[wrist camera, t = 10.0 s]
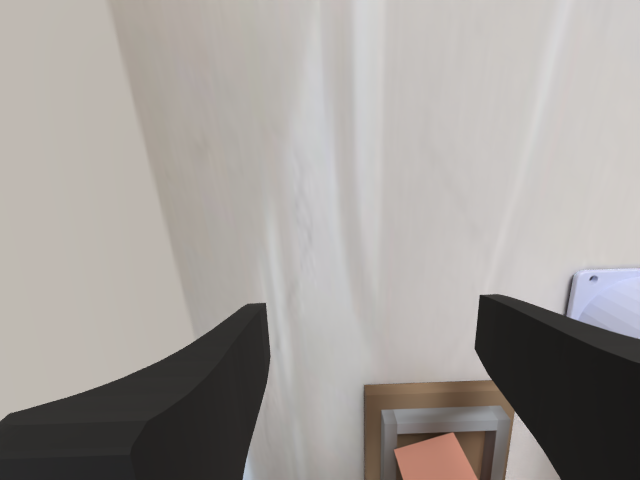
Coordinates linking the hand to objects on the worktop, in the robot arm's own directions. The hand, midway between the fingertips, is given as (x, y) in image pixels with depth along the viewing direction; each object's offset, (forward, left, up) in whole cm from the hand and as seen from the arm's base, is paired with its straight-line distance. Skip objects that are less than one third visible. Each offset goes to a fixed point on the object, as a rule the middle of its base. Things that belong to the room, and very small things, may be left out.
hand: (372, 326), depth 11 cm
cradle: (-6, +18, -9) cm, 21 cm away
